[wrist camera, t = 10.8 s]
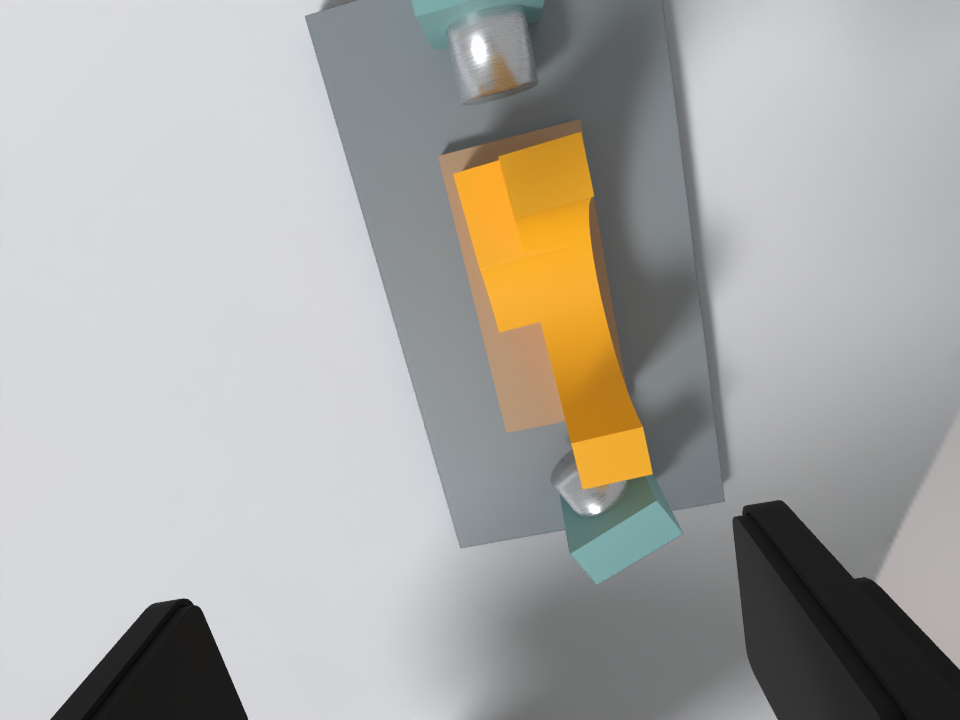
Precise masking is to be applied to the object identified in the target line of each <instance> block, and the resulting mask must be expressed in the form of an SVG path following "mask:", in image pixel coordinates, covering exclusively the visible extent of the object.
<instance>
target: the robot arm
mask: <svg viewBox="0 0 960 720" xmlns="http://www.w3.org/2000/svg"><path fill="white" fill-rule="evenodd" d="M742 515H743V516H737V517H734V518H733V532H734V541H735V550H736V560H737V569H738V578H739V587H740V596H741V605H742V615H743V624H744V633H745V642H746V650H747V655H748V659H749V662H750V665H751V668H752V670H753V672H754V675H755V677H756V679H757V681H758V682H759V684H760V686H761V688H762V690H763V692H764V694H765V696H766V698H767V700H768V702H769V704H770V705H771V707H772V709H773V711H774V713H775V715H776V717H777V719H778V720H960V670H959V669H958V667H956V665H955V664H954V663H953V662H951V660H950V659H949V658H948V657H947V656H946V655H945V654H944V653H943V652H942V651H941V650H940V649H939V648H938V647H937V646H936V645H935V643H934V642H933V641H932V640H931V639H930V638H929V637H928V636H927V635H926V634H925V633H924V632H923V631H922V630H921V629H920V628H919V627H918V626H917V625H916V624H915V623H914V622H913V621H912V619H911V618H910V617H908V615H907V614H906V613H905V612H904V611H903V610H902V609H901V608H900V607H899V606H898V605H897V604H896V603H895V602H894V601H893V600H892V599H891V598H890V597H889V595H888V594H887V593H886V592H885V591H884V590H883V589H882V588H881V587H880V586H878V585H877V584H876V583H875V582H874V581H873V580H870V579H868V578H865V577H863V578H857V579H854V578H853V577H852V576H851V575H850V574H849V573H848V572H847V570H846V569H845V568H844V567H843V566H842V565H841V564H840V563H839V562H838V561H837V560H836V558H835V557H834V556H833V555H832V554H831V553H830V552H829V551H828V550H827V549H826V547H825V546H824V545H823V544H822V543H821V542H820V541H819V540H818V539H817V538H816V536H815V535H814V534H813V533H812V532H811V531H810V530H809V529H808V528H807V527H806V525H805V524H804V523H803V522H802V521H801V520H800V519H799V518H798V517H797V516H796V514H795V513H794V512H793V511H792V510H791V509H790V508H789V507H788V506H787V505H786V504H785V503H784V502H783V501H781V500H777V501H771V502H765V503H759V504H753V505H747V506H744V507H743V511H742ZM50 720H248V717H247V715H246V713H245V710H244V708H243V706H242V703H241V701H240V698H239V696H238V694H237V691H236V689H235V687H234V684H233V682H232V680H231V677H230V675H229V673H228V670H227V668H226V666H225V663H224V661H223V659H222V656H221V654H220V652H219V649H218V647H217V645H216V642H215V640H214V638H213V635H212V633H211V630H210V628H209V626H208V623H207V621H206V619H205V616H204V614H203V612H202V610H201V609H200V608H199V607H198V606H195V605H193V603H192V602H191V601H190V600H188V599H177V600H171V601H165V602H159V603H155V604H152V605H150V606H149V607H148V608H147V609H146V610H145V611H144V612H143V613H142V614H141V615H140V617H139V618H138V619H137V620H136V621H135V622H134V623H133V625H132V626H131V627H130V628H129V629H128V630H127V632H126V633H125V634H124V635H123V636H122V637H121V638H120V640H119V641H118V642H117V643H116V644H115V645H114V647H113V648H112V649H111V650H110V651H109V652H108V654H107V655H106V656H105V657H104V658H103V659H102V660H101V662H100V663H99V664H98V665H97V666H96V667H95V669H94V670H93V671H92V672H91V673H90V674H89V675H88V677H87V678H86V679H85V680H84V681H83V682H82V684H81V685H80V686H79V687H78V688H77V689H76V691H75V692H74V693H73V694H72V695H71V696H70V697H69V699H68V700H67V701H66V702H65V703H64V704H63V706H62V707H61V708H60V709H59V710H58V711H57V712H56V714H55V715H54V716H53V717H52V718H51V719H50Z"/></svg>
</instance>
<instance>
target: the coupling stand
mask: <svg viewBox="0 0 960 720" xmlns="http://www.w3.org/2000/svg"><path fill="white" fill-rule="evenodd" d="M504 4H518V5H522V6H523V7H524V8H525V13H526V18H527V24H528V29H529V34H530V40H531V45H532V50H533V55H534V61H535V66H536V71H537V77H538V82H539V83H538V85H536V86H535V87H533V88H531V89H529V90H526V91H524V92H521V93H518V94H516V95H513V96H509V97H506V98H502V99H499V100H495V101H491V102H486V103H481V104H475V105H462V104H461V100H460V96H459V91H458V87H457V83H456V78H455V74H454V69H453V65H452V61H451V56H450V52H449V48H448V43H447V39H446V35H445V29H446V27H447V26H448V25H449V24H450V23H452V22H453V21H455V20H457V19H458V18H460V17H462V16H465V15H467V14H469V13H472V12H475V11H478V10H481V9H484V8H488V7H492V6H498V5H504ZM305 19H306V22H307V25H308V29H309V32H310V36H311V39H312V43H313V46H314V49H315V53H316V56H317V60H318V63H319V66H320V70H321V73H322V77H323V80H324V84H325V87H326V90H327V94H328V97H329V101H330V104H331V108H332V111H333V114H334V118H335V121H336V125H337V128H338V131H339V135H340V138H341V142H342V145H343V149H344V152H345V155H346V159H347V162H348V166H349V169H350V172H351V176H352V179H353V183H354V186H355V190H356V193H357V196H358V200H359V203H360V207H361V210H362V214H363V217H364V220H365V224H366V227H367V231H368V234H369V237H370V241H371V244H372V248H373V251H374V255H375V258H376V261H377V265H378V268H379V272H380V275H381V279H382V282H383V285H384V289H385V292H386V296H387V299H388V302H389V306H390V309H391V313H392V316H393V320H394V323H395V326H396V330H397V333H398V337H399V340H400V343H401V347H402V350H403V354H404V357H405V361H406V364H407V367H408V371H409V374H410V378H411V381H412V385H413V388H414V391H415V395H416V398H417V402H418V405H419V408H420V412H421V415H422V419H423V422H424V426H425V429H426V432H427V436H428V439H429V443H430V446H431V450H432V453H433V456H434V460H435V463H436V467H437V470H438V473H439V477H440V480H441V484H442V487H443V491H444V494H445V497H446V501H447V504H448V508H449V511H450V514H451V518H452V521H453V525H454V528H455V532H456V535H457V538H458V542H459V545H460V548H465V547H471V546H476V545H482V544H488V543H493V542H499V541H505V540H510V539H516V538H521V537H527V536H533V535H538V534H544V533H550V532H555V531H561V530H566V534H567V540H568V546H569V552H570V555H571V556H572V557H573V558H574V559H575V561H576V562H577V563H578V564H579V565H580V566H581V568H582V569H583V570H584V571H585V572H586V573H587V574H588V576H589V577H590V578H591V579H592V580H593V581H594V583H595V584H596V585H598V584H599V583H601V582H603V581H604V580H606V579H608V578H609V577H611V576H613V575H614V574H616V573H618V572H620V571H621V570H623V569H625V568H626V567H628V566H630V565H631V564H633V563H635V562H636V561H638V560H640V559H641V558H643V557H645V556H646V555H648V554H650V553H651V552H653V551H655V550H657V549H658V548H660V547H662V546H663V545H665V544H667V543H668V542H670V541H672V540H673V539H675V538H677V537H678V536H680V535H682V534H683V533H682V531H681V529H680V527H679V525H678V523H677V521H676V519H675V517H674V515H673V513H672V511H674V510H679V509H685V508H691V507H696V506H702V505H708V504H713V503H719V502H725V499H724V491H723V483H722V475H721V467H720V459H719V451H718V443H717V435H716V427H715V419H714V411H713V403H712V395H711V387H710V379H709V371H708V363H707V355H706V347H705V339H704V331H703V323H702V315H701V307H700V299H699V291H698V283H697V275H696V267H695V259H694V251H693V243H692V235H691V227H690V219H689V211H688V203H687V195H686V187H685V179H684V171H683V163H682V155H681V147H680V139H679V131H678V123H677V114H676V106H675V98H674V90H673V82H672V74H671V66H670V58H669V50H668V42H667V34H666V26H665V18H664V10H663V2H662V0H357V1H354V2H350V3H347V4H344V5H340V6H337V7H333V8H330V9H327V10H323V11H320V12H317V13H313V14H310V15H306V16H305ZM579 132H581V135H582V140H583V144H584V149H585V154H586V159H587V163H588V168H589V173H590V178H591V182H592V187H593V192H594V196H593V197H592V198H591V200H590V204H589V227H590V237H591V245H592V252H593V259H594V265H595V270H596V276H597V281H598V286H599V290H600V295H601V300H602V304H603V308H604V312H605V317H606V321H607V325H608V328H609V332H610V336H611V340H612V343H613V347H614V350H615V354H616V357H617V361H618V364H619V367H620V370H621V373H622V376H623V379H624V382H625V385H626V388H627V391H628V394H629V396H630V399H631V402H632V404H633V407H634V409H635V411H636V414H637V416H638V418H639V420H640V422H641V424H642V426H643V430H644V434H645V439H646V444H647V449H648V453H649V458H650V463H651V468H652V472H653V474H652V475H647V476H642V477H638V478H633V479H630V483H629V488H628V490H627V492H626V494H625V496H624V497H623V498H622V500H621V501H620V502H619V503H618V504H617V505H616V506H615V507H614V508H612V509H611V510H610V511H608V512H607V513H605V514H603V515H601V516H598V517H595V518H590V519H585V518H581V517H580V516H578V515H577V513H576V512H575V511H574V510H573V509H572V507H571V506H570V505H569V504H568V503H567V501H566V500H565V499H564V498H563V497H562V496H561V494H560V493H559V492H558V491H557V490H556V488H555V487H554V486H553V485H552V483H551V474H552V471H553V469H554V468H555V466H556V464H557V463H558V462H559V461H560V460H561V458H562V457H563V456H565V455H566V454H567V453H568V452H569V451H571V450H572V445H571V441H570V437H569V433H568V429H567V425H566V421H565V417H564V413H563V409H562V405H561V401H560V397H559V393H558V389H557V385H556V381H555V377H554V373H553V369H552V366H551V362H550V358H549V354H548V350H547V346H546V342H545V338H544V334H543V330H542V326H541V322H539V323H535V324H531V325H527V326H523V327H519V328H516V329H512V330H508V331H504V332H500V333H499V331H498V327H497V323H496V320H495V316H494V313H493V309H492V306H491V302H490V299H489V296H488V293H487V289H486V286H485V283H484V280H483V277H482V274H481V271H480V268H479V265H478V261H477V258H476V254H475V251H474V247H473V243H472V240H471V236H470V233H469V229H468V225H467V222H466V218H465V215H464V211H463V208H462V204H461V200H460V197H459V193H458V190H457V186H456V182H455V179H454V175H453V174H454V173H458V172H461V171H464V170H468V169H471V168H474V167H478V166H481V165H484V164H488V163H491V162H495V161H498V160H499V158H498V156H502V155H505V154H508V153H512V152H515V151H518V150H522V149H525V148H528V147H532V146H535V145H538V144H542V143H545V142H549V141H552V140H555V139H559V138H562V137H565V136H569V135H572V134H575V133H579Z"/></svg>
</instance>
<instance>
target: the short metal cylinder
mask: <svg viewBox="0 0 960 720" xmlns="http://www.w3.org/2000/svg"><path fill="white" fill-rule="evenodd" d="M551 483H552V485H553V486H554V487H555V488H556V490H557V491H558V492H559V493H560V494H561V496H562V497H563V498H564V499H565V500H566V501H567V503H568V504H569V505H570V506H571V507H572V509H573V510H574V511H575V512H576V513H577V515H578V516H580V517H581V518H585V519H590V518H595V517H598V516H601V515H603V514H605V513H607V512H608V511H610V510H611V509H612V508H614V507H615V506H616V505H617V504H618V503H619V502H620V501H621V500H622V498H623V497H624V496H625V494H626V492H627V490H628V488H629V483H630V479H629V480H624V481H620V482H615V483H610V484H606V485H601V486H597V487H592V488H588V489H583V488H582V484H581V480H580V476H579V473H578V469H577V465H576V461H575V457H574V453H573V449H572V450H571V451H569V452H568V453H567V454H566V455H565V456H563V457H562V458H561V460H560V461H559V462H558V463H557V464H556V466H555V468H554V469H553V471H552V474H551Z"/></svg>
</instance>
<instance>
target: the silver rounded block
mask: <svg viewBox="0 0 960 720" xmlns="http://www.w3.org/2000/svg"><path fill="white" fill-rule="evenodd" d="M445 35H446V39H447V43H448V48H449V52H450V56H451V61H452V65H453V69H454V74H455V78H456V83H457V87H458V91H459V96H460V100H461V104H462V105H475V104H481V103H486V102H491V101H495V100H499V99H502V98H506V97H509V96H513V95H516V94H518V93H521V92H524V91H526V90H529V89H531V88H533V87H535V86H536V85H538V83H539V82H538V77H537V71H536V66H535V61H534V55H533V50H532V45H531V40H530V34H529V29H528V24H527V18H526V13H525V8H524V7H523V6H522V5H518V4H504V5H498V6H492V7H488V8H484V9H481V10H478V11H475V12H472V13H469V14H467V15H465V16H462V17H460V18H458V19H457V20H455V21H453V22H452V23H450V24H449V25H448V26H447V27H446V29H445Z"/></svg>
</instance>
